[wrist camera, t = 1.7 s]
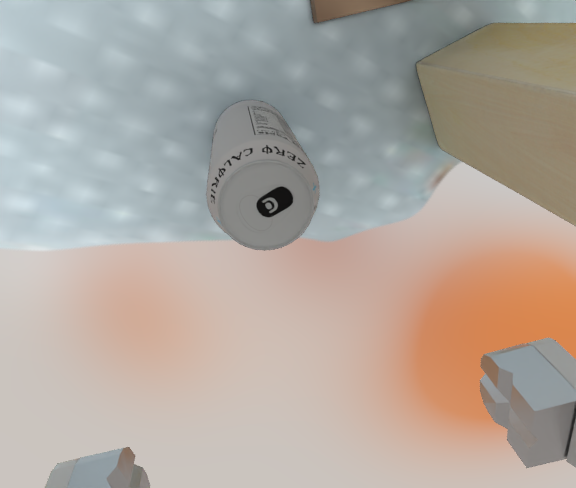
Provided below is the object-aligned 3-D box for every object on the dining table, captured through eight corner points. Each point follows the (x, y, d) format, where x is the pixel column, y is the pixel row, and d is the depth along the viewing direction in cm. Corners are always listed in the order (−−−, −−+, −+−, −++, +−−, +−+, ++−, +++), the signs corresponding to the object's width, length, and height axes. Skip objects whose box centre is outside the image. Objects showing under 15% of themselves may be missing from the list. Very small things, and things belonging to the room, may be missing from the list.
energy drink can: (198, 124, 32) (179, 191, 19) (263, 82, 32) (288, 122, 18) (240, 184, 35) (248, 279, 22) (300, 148, 34) (346, 223, 21)
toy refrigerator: (518, 111, 35) (832, 204, 17) (439, 151, 36) (658, 280, 18) (501, 16, 32) (881, 4, 13) (413, 62, 32) (658, 110, 14)
